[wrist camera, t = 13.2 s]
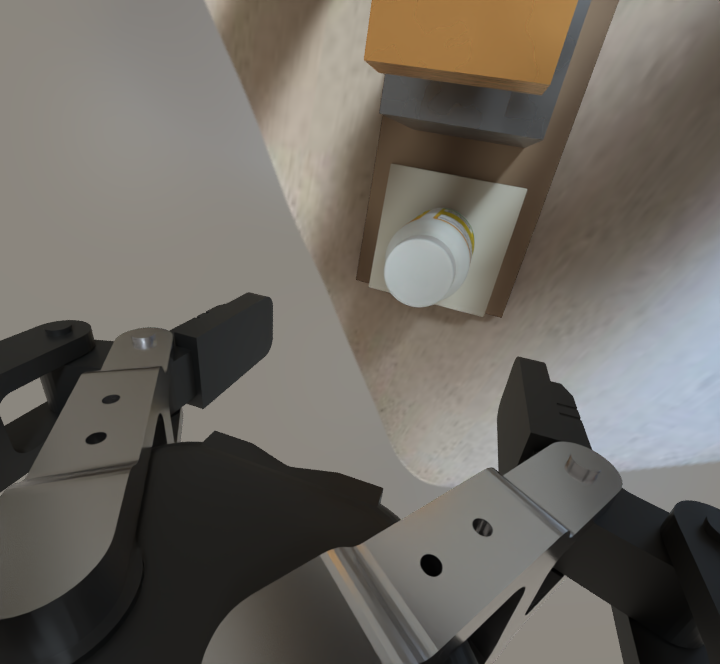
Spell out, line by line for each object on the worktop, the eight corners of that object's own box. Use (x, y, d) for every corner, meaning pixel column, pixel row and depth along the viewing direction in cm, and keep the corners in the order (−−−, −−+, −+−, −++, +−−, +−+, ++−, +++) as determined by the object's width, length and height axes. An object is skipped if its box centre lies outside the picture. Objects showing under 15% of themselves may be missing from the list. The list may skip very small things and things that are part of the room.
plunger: (561, -10, 19) (652, -224, 8) (519, 123, 22) (550, 84, 11) (445, -19, 20) (401, -217, 10) (420, 107, 23) (363, 59, 12)
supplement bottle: (476, 204, 27) (469, 223, 19) (473, 275, 29) (467, 320, 21) (404, 209, 29) (369, 227, 21) (406, 275, 31) (375, 317, 23)
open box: (572, 1, 22) (627, -104, 13) (524, 148, 26) (543, 139, 17) (441, -11, 24) (415, -112, 15) (413, 129, 27) (379, 113, 19)
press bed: (621, -17, 22) (635, -37, 20) (501, 311, 32) (501, 322, 30) (412, -34, 25) (405, -52, 23) (360, 275, 35) (352, 282, 33)
